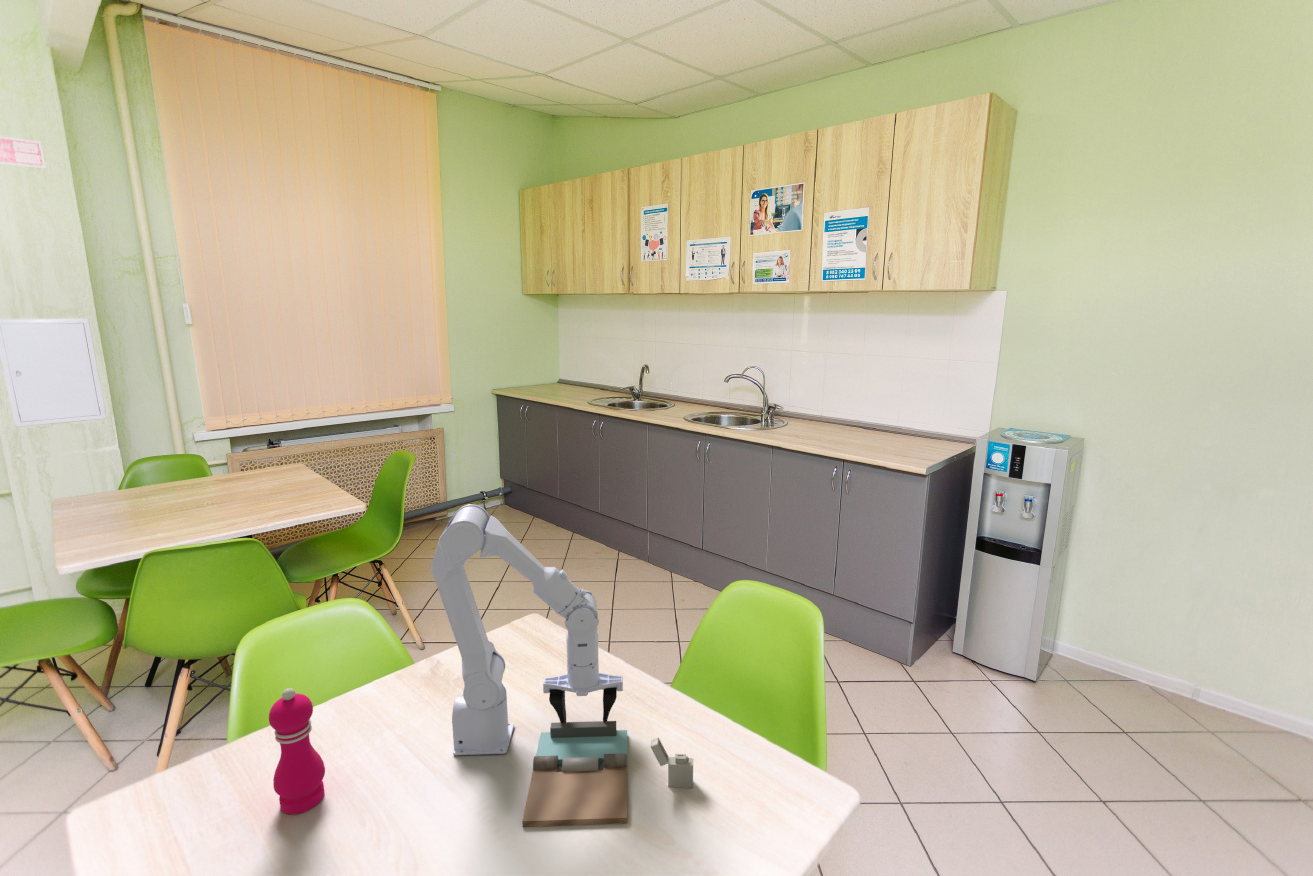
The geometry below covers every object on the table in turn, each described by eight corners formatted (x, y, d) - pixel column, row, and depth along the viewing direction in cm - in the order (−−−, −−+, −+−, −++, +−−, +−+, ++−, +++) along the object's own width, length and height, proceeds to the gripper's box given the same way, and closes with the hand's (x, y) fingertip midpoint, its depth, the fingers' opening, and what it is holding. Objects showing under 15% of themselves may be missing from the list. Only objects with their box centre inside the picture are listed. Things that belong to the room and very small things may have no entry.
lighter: (693, 780, 105) (693, 738, 103) (692, 788, 103) (693, 745, 101) (651, 778, 105) (651, 736, 104) (650, 785, 104) (650, 743, 102)
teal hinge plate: (532, 778, 105) (532, 762, 105) (541, 737, 115) (540, 723, 115) (627, 774, 106) (626, 759, 105) (627, 734, 116) (627, 720, 115)
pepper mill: (275, 824, 96) (258, 708, 92) (278, 792, 102) (262, 683, 98) (327, 807, 99) (313, 695, 95) (327, 777, 105) (314, 671, 101)
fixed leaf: (522, 826, 95) (522, 813, 95) (535, 765, 108) (534, 753, 108) (627, 823, 96) (626, 810, 96) (627, 762, 109) (627, 750, 108)
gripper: (539, 671, 110) (542, 739, 112) (622, 669, 110) (623, 737, 113) (545, 650, 116) (547, 714, 119) (622, 648, 117) (623, 712, 120)
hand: (584, 724), depth 117 cm, fingers open, 7 cm apart
